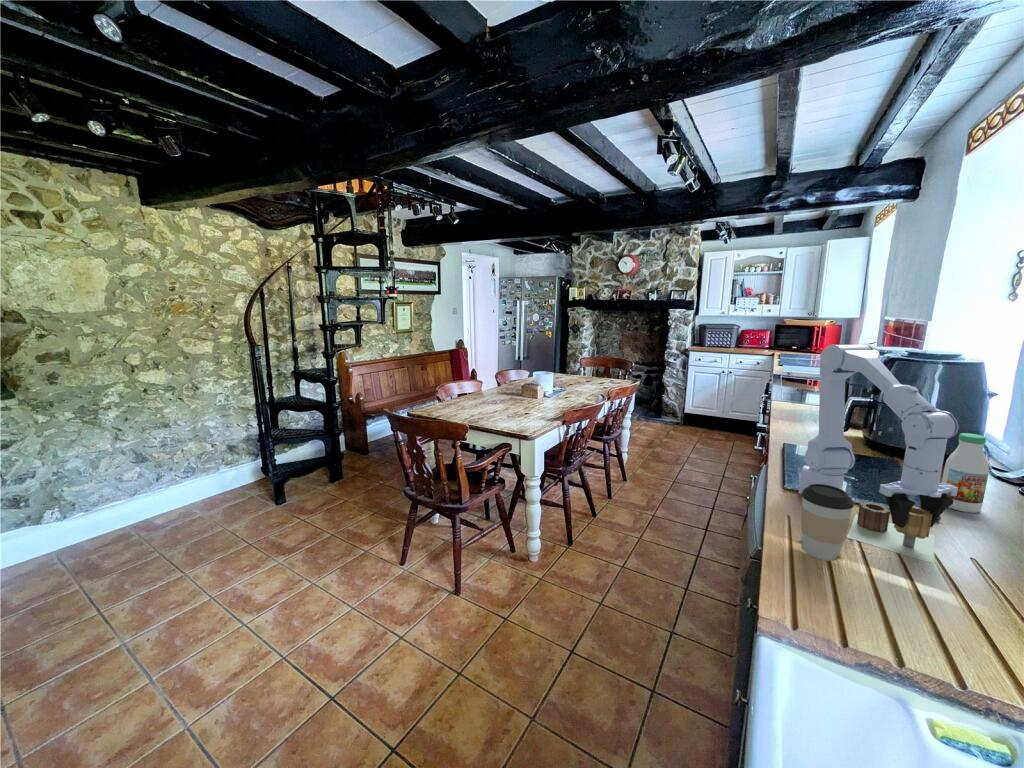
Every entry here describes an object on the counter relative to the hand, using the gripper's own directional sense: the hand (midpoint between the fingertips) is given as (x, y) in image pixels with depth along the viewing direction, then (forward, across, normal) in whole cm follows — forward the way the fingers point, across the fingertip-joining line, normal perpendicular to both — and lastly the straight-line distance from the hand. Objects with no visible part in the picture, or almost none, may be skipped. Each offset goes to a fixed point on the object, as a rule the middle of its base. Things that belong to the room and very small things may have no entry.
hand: (911, 525), depth 88 cm
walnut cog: (+5, -1, +8) cm, 10 cm away
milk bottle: (+6, +32, +20) cm, 38 cm away
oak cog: (+2, 0, 0) cm, 2 cm away
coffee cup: (+6, -19, 0) cm, 20 cm away
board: (+6, 0, +4) cm, 7 cm away
